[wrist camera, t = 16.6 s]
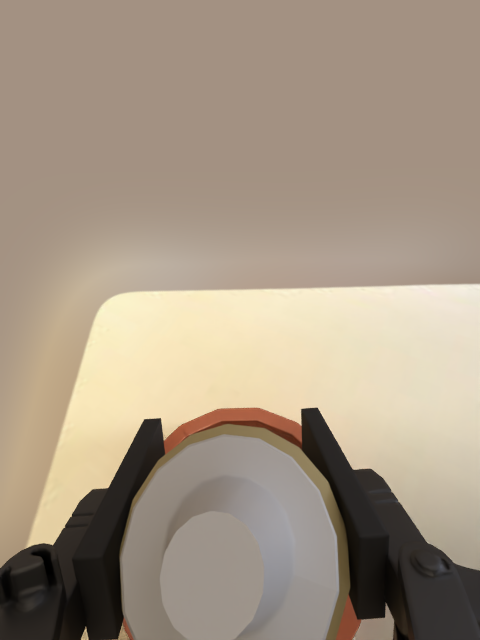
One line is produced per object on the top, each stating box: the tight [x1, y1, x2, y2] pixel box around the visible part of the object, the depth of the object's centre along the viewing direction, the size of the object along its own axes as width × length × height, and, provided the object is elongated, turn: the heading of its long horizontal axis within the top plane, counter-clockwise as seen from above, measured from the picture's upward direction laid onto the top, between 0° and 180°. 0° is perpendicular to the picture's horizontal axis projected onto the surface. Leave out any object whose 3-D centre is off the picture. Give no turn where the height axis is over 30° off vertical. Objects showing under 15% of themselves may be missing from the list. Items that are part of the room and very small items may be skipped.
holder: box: [123, 408, 361, 640], centre depth 17 cm, size 13×13×4 cm
